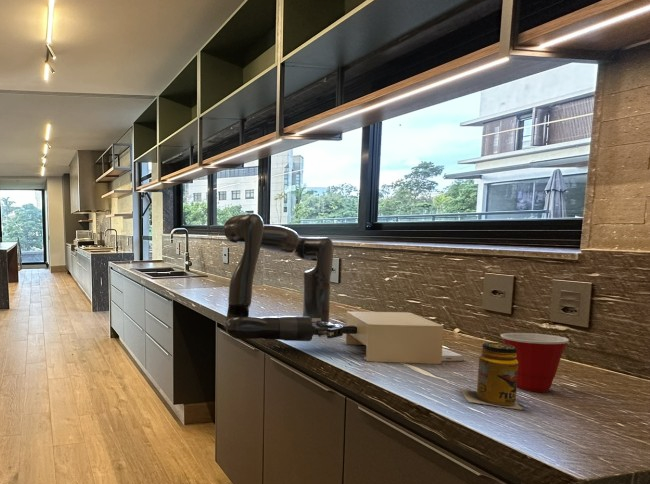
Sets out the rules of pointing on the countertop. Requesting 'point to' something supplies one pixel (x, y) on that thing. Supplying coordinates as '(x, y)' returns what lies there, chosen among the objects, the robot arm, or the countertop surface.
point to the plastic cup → (536, 358)
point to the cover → (396, 337)
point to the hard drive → (451, 356)
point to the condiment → (496, 376)
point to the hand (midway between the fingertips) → (356, 329)
